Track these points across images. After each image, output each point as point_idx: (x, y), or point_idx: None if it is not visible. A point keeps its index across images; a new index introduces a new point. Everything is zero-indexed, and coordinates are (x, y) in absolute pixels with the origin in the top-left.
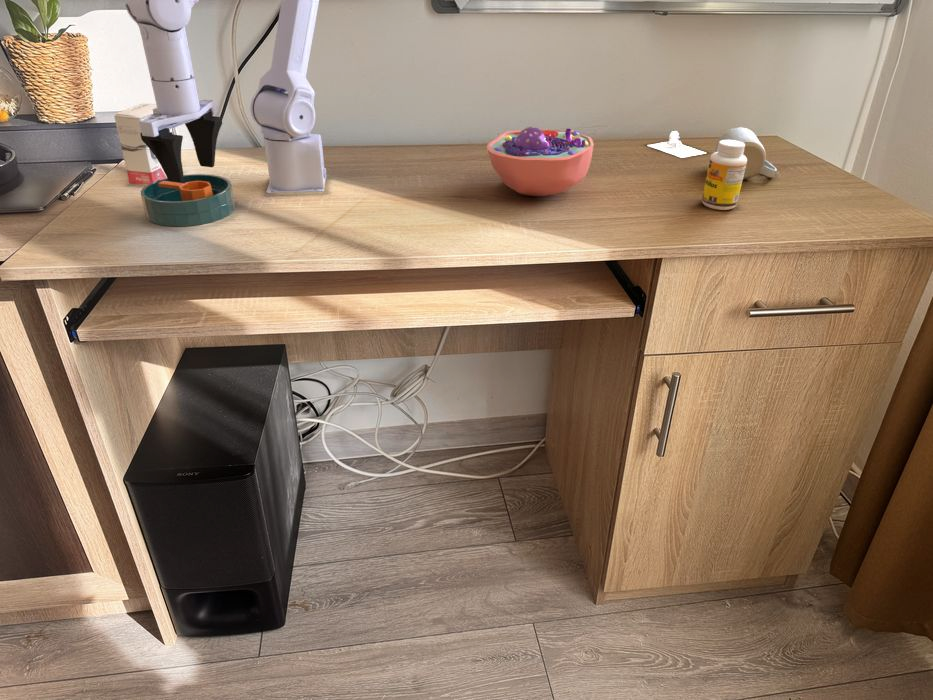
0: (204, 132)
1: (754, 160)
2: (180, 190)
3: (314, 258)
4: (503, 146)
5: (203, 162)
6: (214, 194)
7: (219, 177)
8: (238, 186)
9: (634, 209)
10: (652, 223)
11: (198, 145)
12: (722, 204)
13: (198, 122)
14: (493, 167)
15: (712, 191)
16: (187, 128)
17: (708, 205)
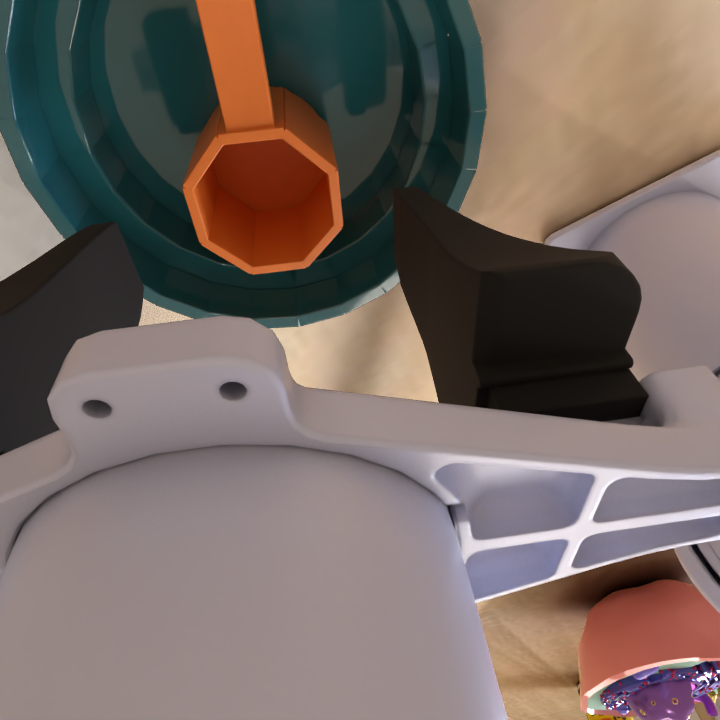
0: (445, 378)
1: (697, 707)
2: (194, 164)
3: None
4: (666, 669)
5: (398, 222)
6: (416, 125)
7: (455, 186)
8: (653, 40)
9: (569, 654)
10: (523, 670)
11: (425, 259)
12: (579, 693)
13: (469, 402)
14: (637, 623)
15: None
16: (461, 261)
17: None
